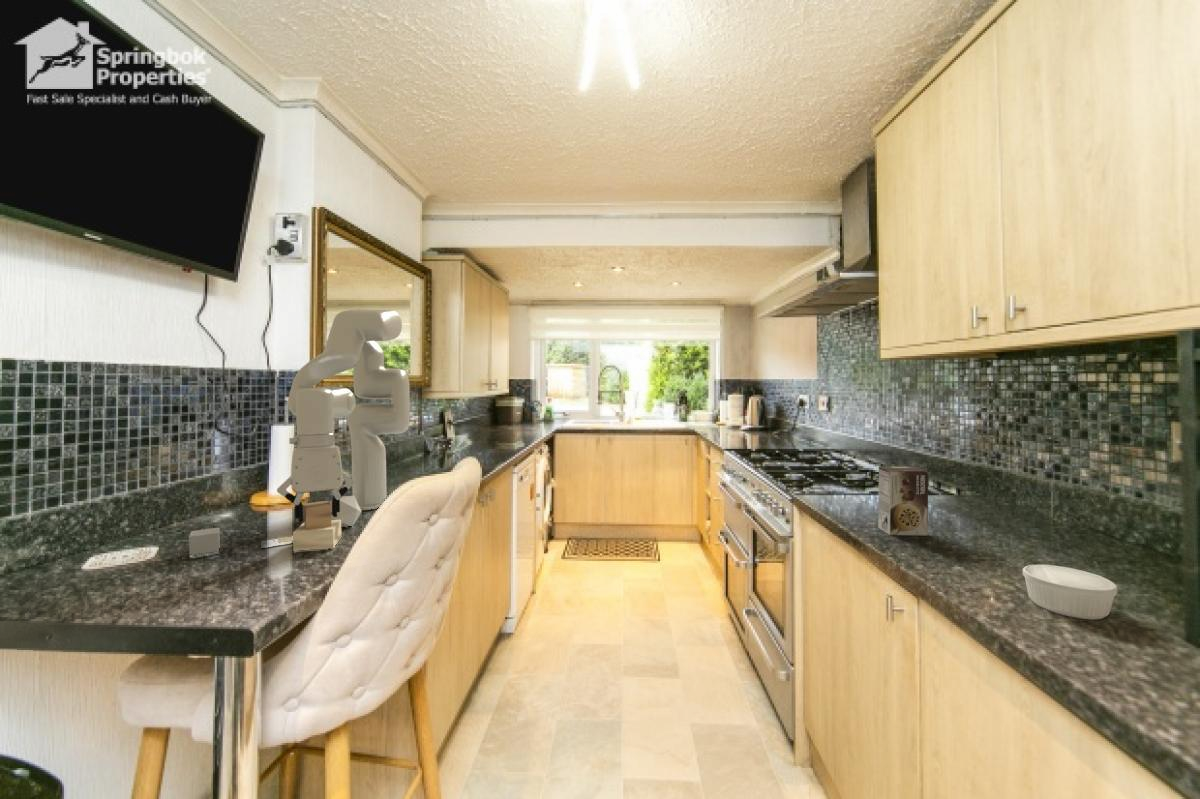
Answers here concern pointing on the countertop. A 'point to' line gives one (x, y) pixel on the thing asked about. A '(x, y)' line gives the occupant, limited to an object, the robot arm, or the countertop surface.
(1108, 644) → the countertop surface
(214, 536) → the slate block
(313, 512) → the walnut block
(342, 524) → the die
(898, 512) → the cookie box
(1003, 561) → the countertop surface
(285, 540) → the card
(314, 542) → the birch base block
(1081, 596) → the ramekin
